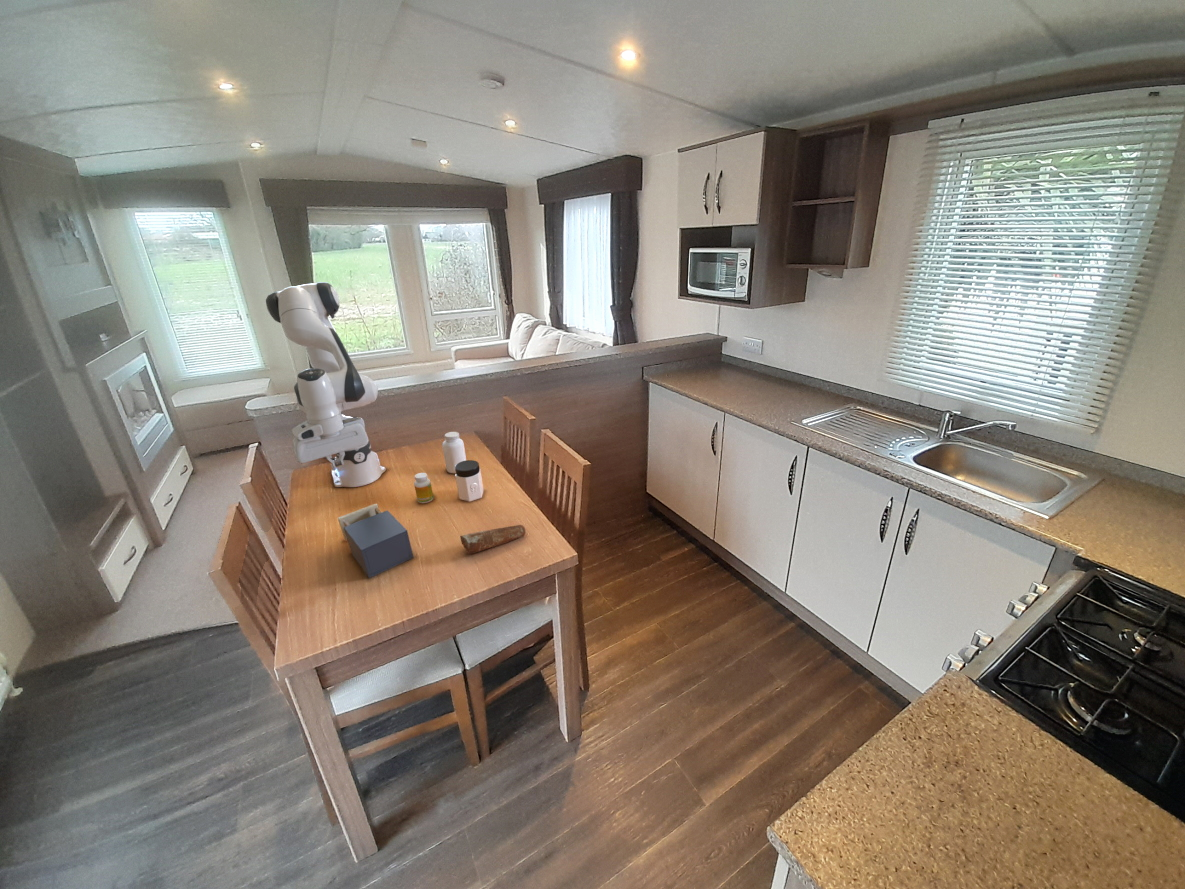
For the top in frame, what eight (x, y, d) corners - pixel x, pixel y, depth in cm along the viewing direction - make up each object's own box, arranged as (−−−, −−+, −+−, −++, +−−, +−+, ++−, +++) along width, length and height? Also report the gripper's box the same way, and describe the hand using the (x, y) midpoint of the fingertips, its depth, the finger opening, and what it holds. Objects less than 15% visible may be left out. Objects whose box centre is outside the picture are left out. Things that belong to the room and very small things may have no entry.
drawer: (339, 533, 148) (333, 511, 145) (376, 518, 155) (371, 498, 152) (359, 559, 136) (352, 536, 133) (398, 542, 143) (392, 520, 140)
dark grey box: (351, 554, 140) (343, 527, 136) (394, 536, 148) (387, 510, 143) (369, 578, 130) (361, 550, 126) (413, 557, 138) (407, 530, 134)
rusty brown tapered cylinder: (461, 547, 141) (458, 532, 139) (523, 530, 148) (521, 515, 146) (466, 560, 136) (463, 544, 134) (529, 541, 143) (527, 525, 141)
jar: (463, 504, 163) (458, 473, 158) (455, 494, 169) (450, 464, 164) (488, 496, 168) (483, 466, 163) (479, 486, 174) (474, 457, 169)
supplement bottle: (433, 502, 165) (428, 477, 161) (417, 504, 164) (412, 480, 160) (433, 494, 170) (428, 470, 166) (417, 497, 169) (412, 473, 164)
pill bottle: (471, 465, 189) (466, 431, 183) (460, 475, 182) (454, 439, 176) (454, 463, 192) (448, 429, 185) (442, 472, 185) (436, 437, 179)
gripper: (358, 412, 149) (369, 452, 155) (285, 431, 137) (299, 473, 143) (365, 417, 145) (376, 458, 151) (290, 437, 133) (304, 480, 138)
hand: (338, 465), depth 147 cm, fingers closed
